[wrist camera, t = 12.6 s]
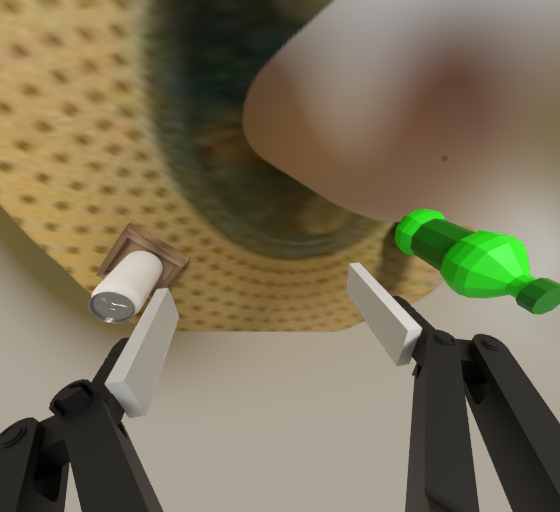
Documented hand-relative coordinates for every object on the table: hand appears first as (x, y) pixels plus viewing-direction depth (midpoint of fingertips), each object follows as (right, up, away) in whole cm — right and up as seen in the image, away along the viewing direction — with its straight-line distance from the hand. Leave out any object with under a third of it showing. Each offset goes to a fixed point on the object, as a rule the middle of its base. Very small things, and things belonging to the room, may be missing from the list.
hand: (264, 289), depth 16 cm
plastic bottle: (+29, +9, +31) cm, 44 cm away
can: (-24, +1, +25) cm, 35 cm away
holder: (-24, +1, +26) cm, 35 cm away
